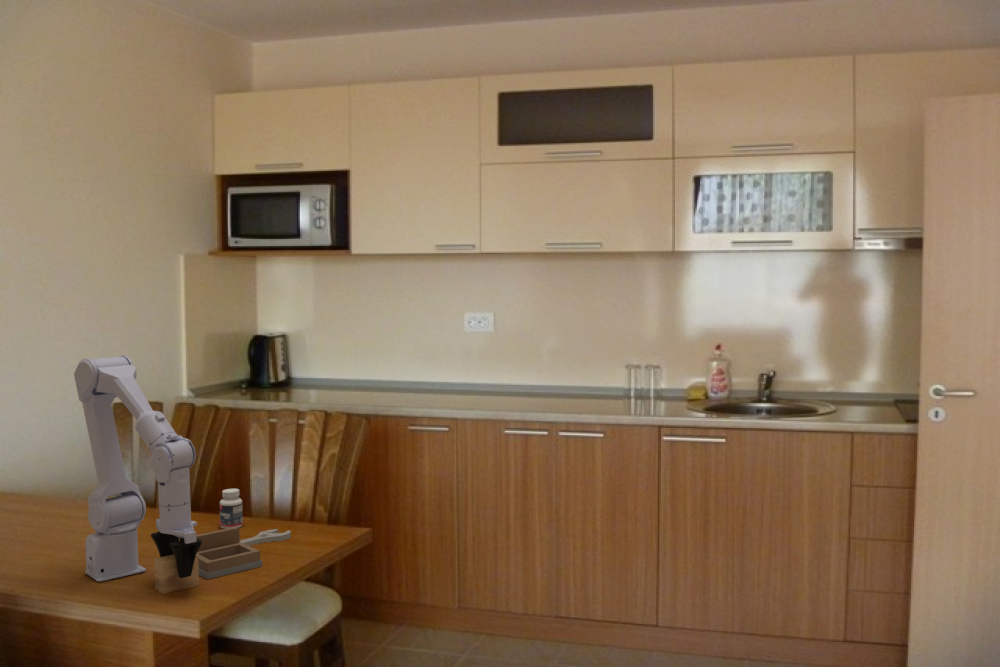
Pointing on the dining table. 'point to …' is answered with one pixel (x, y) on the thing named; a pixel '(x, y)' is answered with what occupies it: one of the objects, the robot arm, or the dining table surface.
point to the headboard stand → (225, 554)
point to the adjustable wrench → (267, 537)
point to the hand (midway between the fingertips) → (177, 572)
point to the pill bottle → (231, 509)
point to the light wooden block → (173, 575)
